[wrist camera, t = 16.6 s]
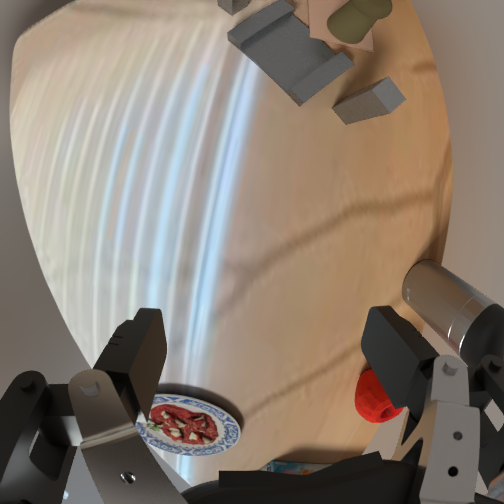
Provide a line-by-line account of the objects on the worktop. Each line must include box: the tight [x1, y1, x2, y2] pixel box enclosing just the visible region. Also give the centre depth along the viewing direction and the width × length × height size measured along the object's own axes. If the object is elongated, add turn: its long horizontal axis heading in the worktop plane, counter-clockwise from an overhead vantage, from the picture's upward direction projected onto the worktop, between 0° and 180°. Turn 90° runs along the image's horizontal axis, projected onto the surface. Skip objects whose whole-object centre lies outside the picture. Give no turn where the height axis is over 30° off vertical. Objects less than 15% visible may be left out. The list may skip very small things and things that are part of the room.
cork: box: [327, 0, 392, 44], centre depth 22 cm, size 6×6×11 cm
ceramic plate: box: [135, 394, 241, 456], centre depth 49 cm, size 26×26×3 cm
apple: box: [355, 368, 403, 423], centre depth 43 cm, size 10×10×12 cm
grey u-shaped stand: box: [217, 0, 406, 125], centre depth 24 cm, size 10×26×12 cm, turn 43°
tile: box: [307, 0, 374, 53], centre depth 27 cm, size 10×10×1 cm
